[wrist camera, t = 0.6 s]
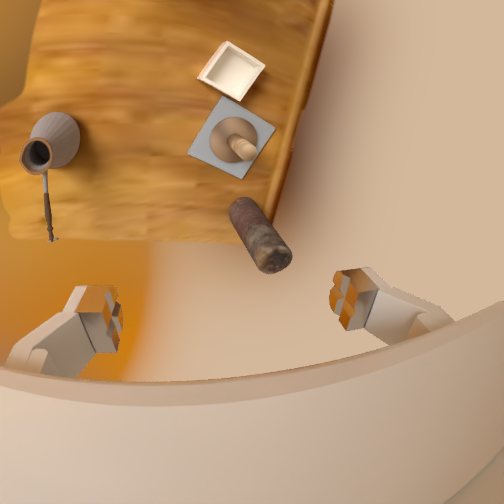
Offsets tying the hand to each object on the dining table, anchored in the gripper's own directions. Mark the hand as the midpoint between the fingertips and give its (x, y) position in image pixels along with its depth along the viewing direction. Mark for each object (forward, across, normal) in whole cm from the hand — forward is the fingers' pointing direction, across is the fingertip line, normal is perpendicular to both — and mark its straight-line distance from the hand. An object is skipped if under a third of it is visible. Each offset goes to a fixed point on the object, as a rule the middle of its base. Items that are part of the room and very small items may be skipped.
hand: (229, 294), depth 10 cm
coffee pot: (+45, +30, -1) cm, 54 cm away
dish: (+48, -5, -17) cm, 51 cm away
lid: (+50, -7, -2) cm, 50 cm away
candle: (+55, -10, +16) cm, 58 cm away
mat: (+51, -7, -2) cm, 51 cm away
